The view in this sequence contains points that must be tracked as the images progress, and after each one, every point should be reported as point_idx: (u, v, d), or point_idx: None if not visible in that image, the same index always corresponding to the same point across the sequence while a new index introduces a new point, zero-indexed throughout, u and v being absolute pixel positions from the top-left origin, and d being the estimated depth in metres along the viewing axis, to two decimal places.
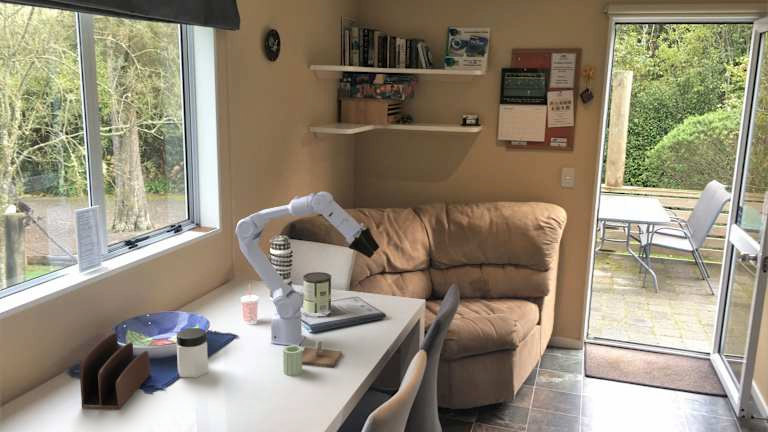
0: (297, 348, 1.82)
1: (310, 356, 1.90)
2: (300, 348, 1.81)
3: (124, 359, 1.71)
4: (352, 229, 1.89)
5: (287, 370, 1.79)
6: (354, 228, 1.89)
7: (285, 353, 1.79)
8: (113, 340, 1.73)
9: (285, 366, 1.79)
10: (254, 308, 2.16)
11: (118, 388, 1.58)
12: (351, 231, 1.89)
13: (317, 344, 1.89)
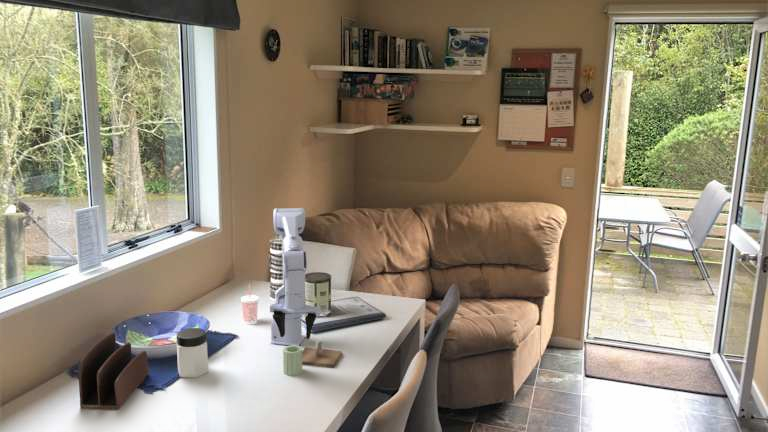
0: (297, 348, 1.82)
1: (310, 356, 1.90)
2: (300, 348, 1.81)
3: (122, 359, 1.71)
4: (285, 305, 1.77)
5: (287, 370, 1.79)
6: (286, 306, 1.76)
7: (285, 353, 1.79)
8: (111, 340, 1.73)
9: (285, 366, 1.79)
10: (254, 308, 2.16)
11: (117, 388, 1.58)
12: (285, 305, 1.78)
13: (317, 344, 1.89)
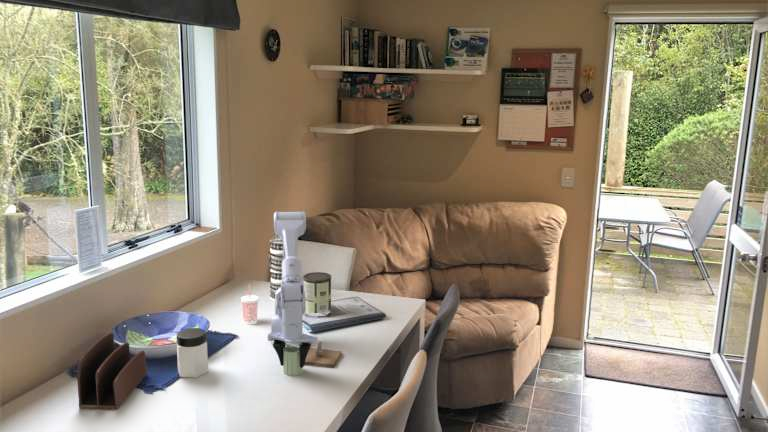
0: (297, 348, 1.82)
1: (310, 356, 1.90)
2: None
3: (121, 359, 1.71)
4: (282, 334, 1.79)
5: (287, 370, 1.79)
6: (283, 335, 1.78)
7: (285, 353, 1.79)
8: (109, 340, 1.73)
9: (285, 366, 1.79)
10: (254, 308, 2.16)
11: (116, 388, 1.58)
12: (282, 334, 1.79)
13: (317, 344, 1.89)
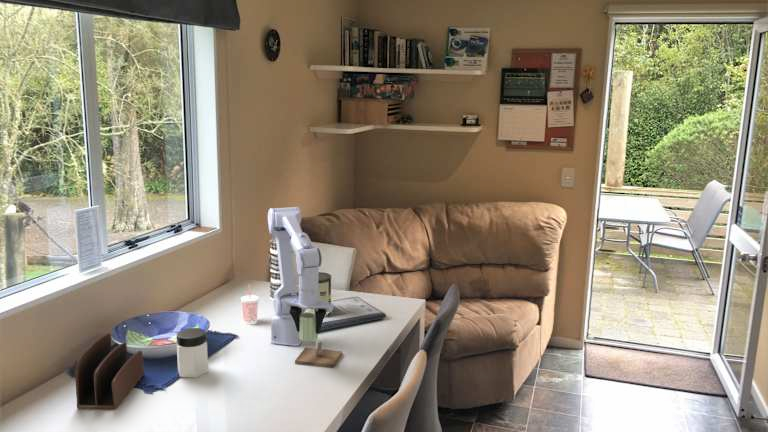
0: (313, 315, 1.86)
1: (310, 356, 1.90)
2: None
3: (118, 359, 1.71)
4: (299, 300, 1.82)
5: (303, 336, 1.83)
6: (299, 302, 1.82)
7: (301, 319, 1.82)
8: (107, 340, 1.73)
9: (301, 332, 1.83)
10: (254, 308, 2.16)
11: (114, 388, 1.58)
12: (299, 300, 1.83)
13: (317, 344, 1.89)
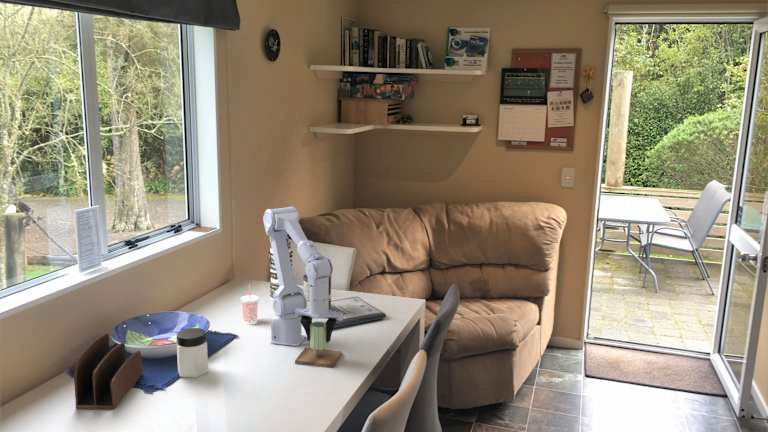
0: (323, 324, 1.90)
1: (310, 356, 1.90)
2: None
3: (117, 359, 1.71)
4: (309, 310, 1.87)
5: (314, 345, 1.87)
6: (310, 311, 1.86)
7: (312, 328, 1.86)
8: (105, 340, 1.73)
9: (312, 341, 1.87)
10: (254, 308, 2.16)
11: (113, 388, 1.58)
12: (309, 310, 1.87)
13: None
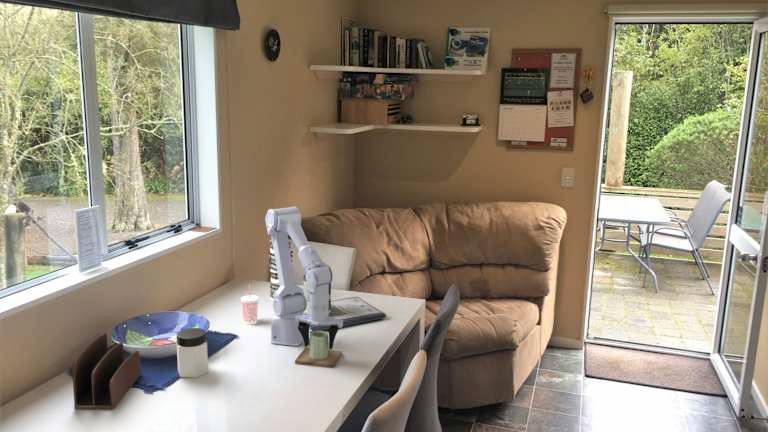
0: (323, 334, 1.91)
1: None
2: (326, 333, 1.90)
3: (115, 359, 1.71)
4: (309, 317, 1.87)
5: (314, 355, 1.88)
6: (310, 318, 1.87)
7: (312, 338, 1.87)
8: (103, 340, 1.73)
9: (312, 351, 1.88)
10: (254, 308, 2.16)
11: (112, 388, 1.58)
12: (309, 316, 1.88)
13: None
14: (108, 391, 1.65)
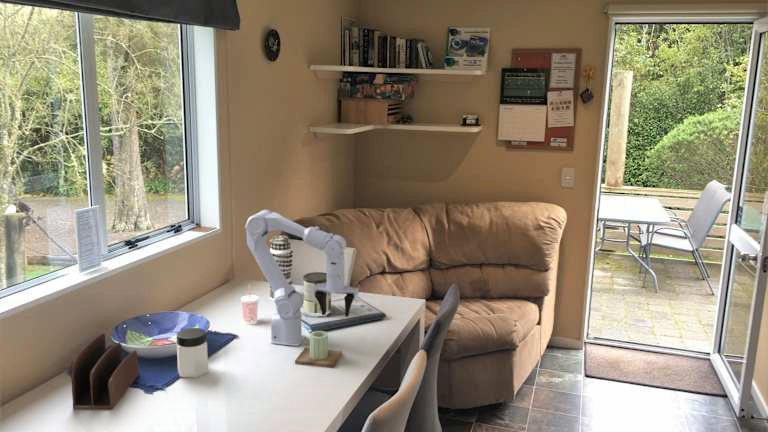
0: (323, 334, 1.91)
1: None
2: (326, 333, 1.90)
3: (113, 359, 1.71)
4: (326, 285, 1.96)
5: (314, 355, 1.88)
6: (327, 287, 1.96)
7: (312, 338, 1.87)
8: (101, 341, 1.73)
9: (312, 351, 1.88)
10: (254, 308, 2.16)
11: (110, 388, 1.58)
12: (326, 285, 1.97)
13: None
14: (106, 391, 1.65)
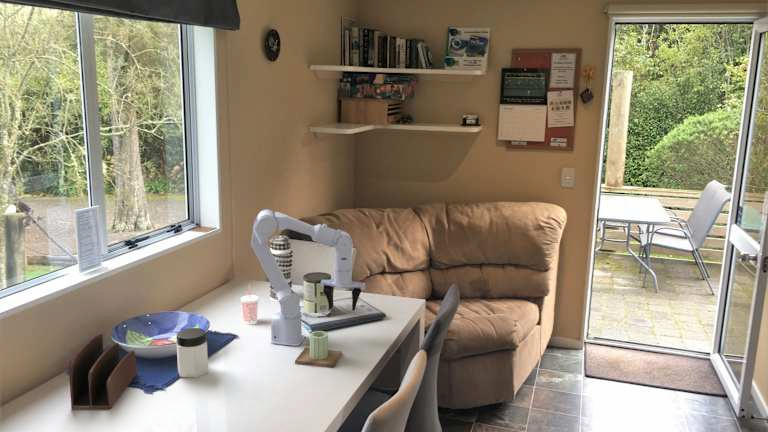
0: (323, 334, 1.91)
1: None
2: (326, 333, 1.90)
3: (111, 359, 1.71)
4: (334, 280, 2.02)
5: (314, 355, 1.88)
6: (334, 281, 2.01)
7: (312, 338, 1.87)
8: (99, 341, 1.73)
9: (312, 351, 1.88)
10: (254, 308, 2.16)
11: (109, 388, 1.58)
12: (334, 280, 2.02)
13: None
14: (105, 391, 1.65)
